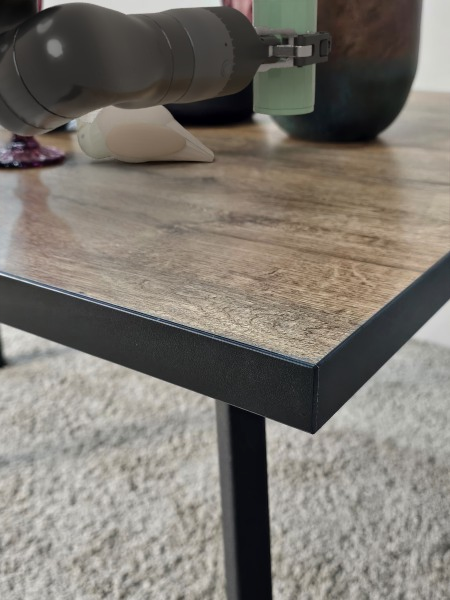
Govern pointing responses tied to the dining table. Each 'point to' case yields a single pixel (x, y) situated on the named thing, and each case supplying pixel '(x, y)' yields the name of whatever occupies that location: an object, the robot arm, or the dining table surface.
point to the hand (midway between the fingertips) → (295, 42)
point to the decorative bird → (139, 136)
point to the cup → (281, 81)
